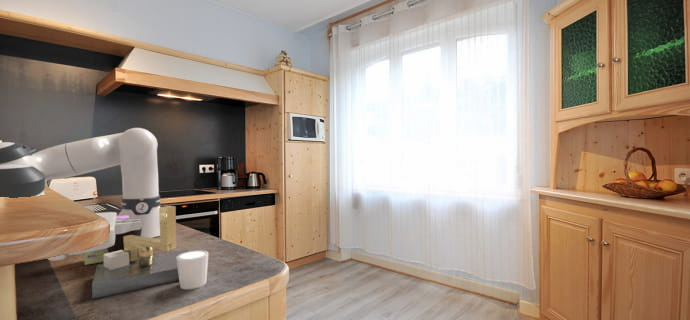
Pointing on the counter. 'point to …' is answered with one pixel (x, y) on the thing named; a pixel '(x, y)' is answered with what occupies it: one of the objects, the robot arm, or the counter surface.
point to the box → (98, 255)
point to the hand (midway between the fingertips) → (141, 224)
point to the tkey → (147, 244)
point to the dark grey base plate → (135, 275)
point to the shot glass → (192, 269)
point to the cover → (116, 259)
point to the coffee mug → (120, 241)
